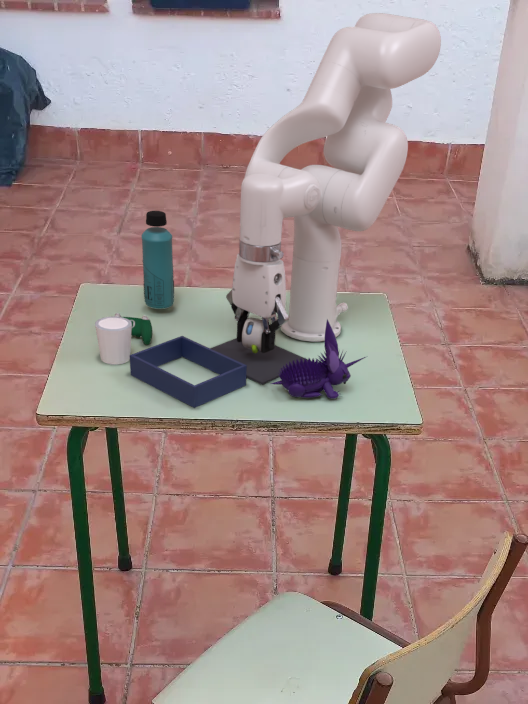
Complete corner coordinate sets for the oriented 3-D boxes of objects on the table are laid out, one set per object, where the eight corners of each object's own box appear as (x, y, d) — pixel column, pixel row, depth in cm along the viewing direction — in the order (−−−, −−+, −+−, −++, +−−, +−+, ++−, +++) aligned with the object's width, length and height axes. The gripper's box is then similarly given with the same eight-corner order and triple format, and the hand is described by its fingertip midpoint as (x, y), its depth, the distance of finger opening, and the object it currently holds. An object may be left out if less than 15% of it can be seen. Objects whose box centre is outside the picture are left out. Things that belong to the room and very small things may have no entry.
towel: (248, 335, 183) (248, 333, 182) (311, 363, 174) (311, 360, 174) (198, 355, 175) (198, 352, 174) (262, 385, 166) (262, 382, 166)
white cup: (94, 352, 173) (91, 317, 169) (128, 348, 175) (126, 314, 171) (101, 367, 168) (99, 332, 164) (137, 363, 170) (135, 328, 166)
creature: (368, 402, 163) (377, 338, 155) (270, 403, 161) (274, 338, 153) (359, 380, 170) (367, 318, 162) (265, 381, 168) (268, 318, 160)
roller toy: (238, 352, 171) (239, 323, 168) (248, 339, 176) (250, 311, 172) (259, 356, 170) (261, 327, 167) (270, 344, 175) (271, 315, 171)
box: (182, 355, 174) (182, 335, 172) (246, 385, 166) (246, 365, 163) (130, 375, 166) (129, 355, 164) (194, 408, 158) (194, 387, 155)
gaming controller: (152, 350, 179) (156, 321, 180) (149, 342, 175) (153, 313, 176) (107, 346, 180) (111, 317, 180) (103, 338, 176) (107, 309, 176)
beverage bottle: (180, 309, 191) (179, 211, 179) (162, 318, 187) (159, 219, 174) (156, 301, 194) (153, 205, 181) (137, 311, 190) (132, 212, 177)
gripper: (309, 258, 159) (301, 354, 171) (240, 233, 168) (237, 326, 179) (281, 268, 155) (275, 365, 166) (211, 241, 163) (210, 336, 175)
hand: (255, 344), depth 172 cm, fingers closed on roller toy, 5 cm apart
